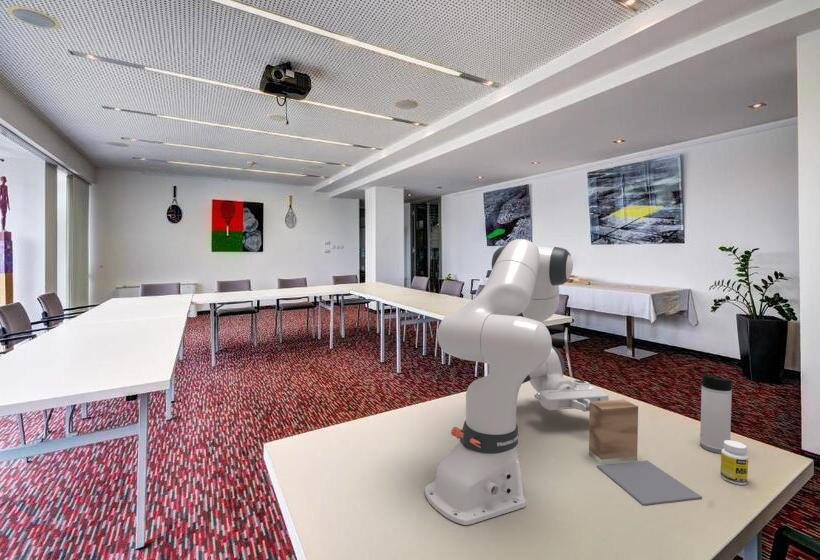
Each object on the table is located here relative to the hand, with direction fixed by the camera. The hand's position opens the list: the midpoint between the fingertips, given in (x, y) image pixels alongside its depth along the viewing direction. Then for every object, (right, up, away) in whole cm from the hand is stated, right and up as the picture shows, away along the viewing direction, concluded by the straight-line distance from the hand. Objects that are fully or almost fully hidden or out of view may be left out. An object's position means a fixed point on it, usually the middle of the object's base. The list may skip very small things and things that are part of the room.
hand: (589, 408), depth 106 cm
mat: (+3, -10, -20) cm, 23 cm away
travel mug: (+31, -9, -5) cm, 33 cm away
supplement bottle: (+24, -10, -19) cm, 32 cm away
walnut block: (+2, -9, -9) cm, 13 cm away
